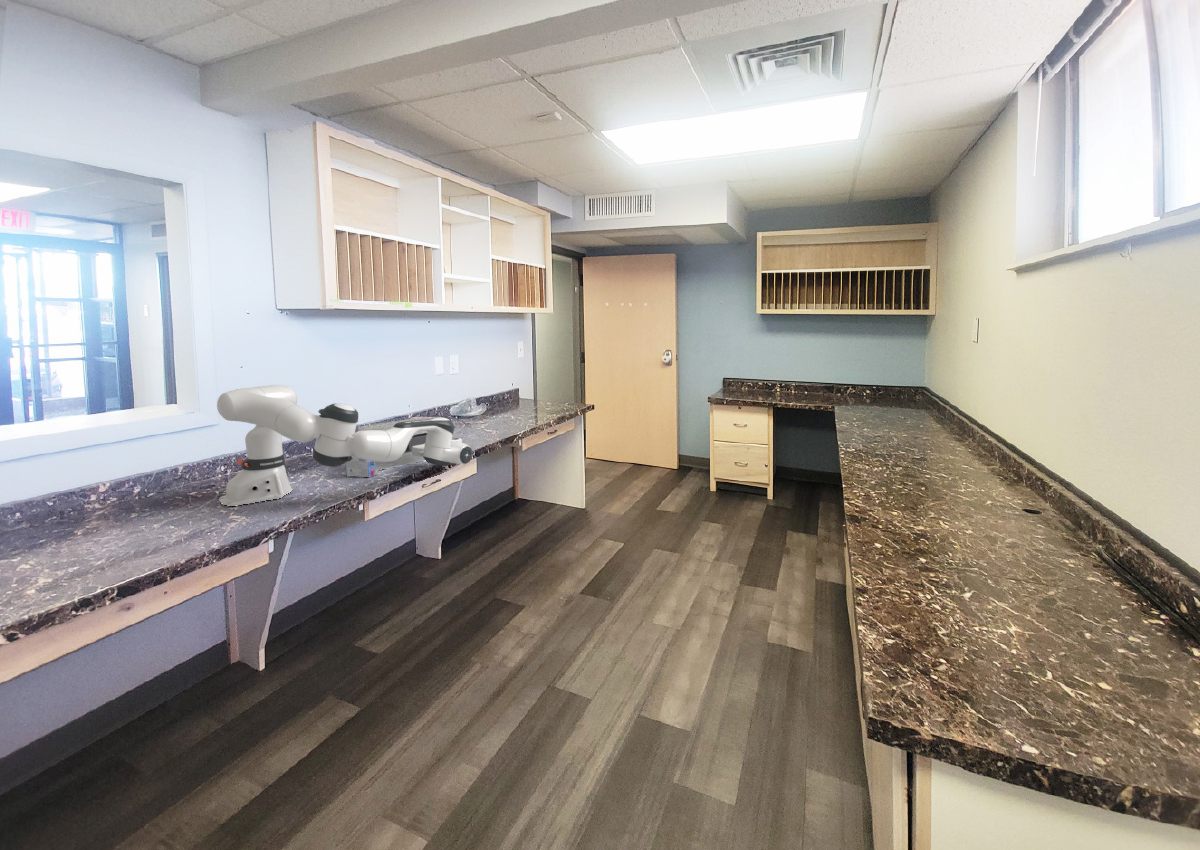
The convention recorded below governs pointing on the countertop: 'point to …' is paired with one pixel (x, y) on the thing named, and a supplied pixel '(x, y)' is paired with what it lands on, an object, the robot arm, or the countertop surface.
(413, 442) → the button
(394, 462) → the metal drawer cabinet
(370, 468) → the ink cartridge box
